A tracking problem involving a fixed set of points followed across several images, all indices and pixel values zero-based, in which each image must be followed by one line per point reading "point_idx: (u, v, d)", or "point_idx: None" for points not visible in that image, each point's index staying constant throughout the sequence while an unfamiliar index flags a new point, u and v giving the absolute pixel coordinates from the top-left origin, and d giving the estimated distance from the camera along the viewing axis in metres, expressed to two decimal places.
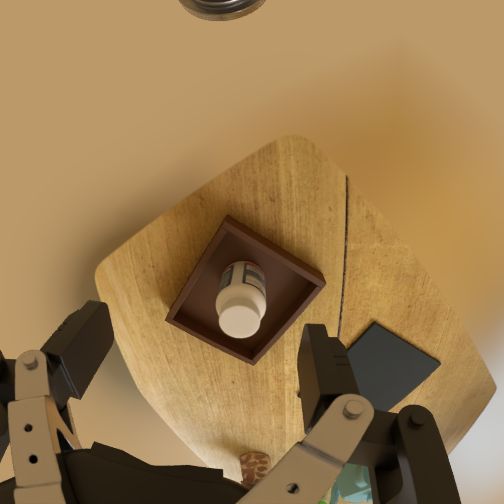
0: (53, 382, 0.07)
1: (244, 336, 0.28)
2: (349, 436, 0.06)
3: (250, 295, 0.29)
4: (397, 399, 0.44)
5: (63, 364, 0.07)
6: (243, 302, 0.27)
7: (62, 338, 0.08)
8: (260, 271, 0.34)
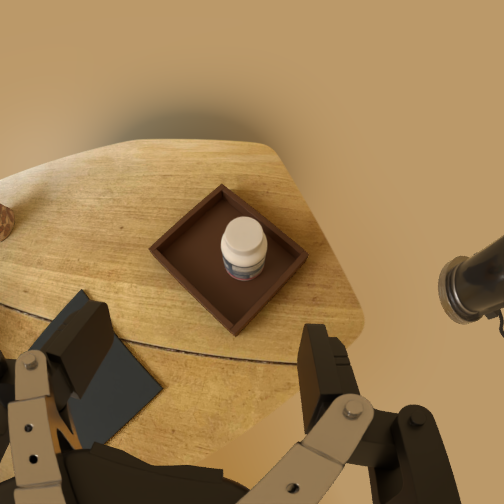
0: (53, 382, 0.07)
1: (226, 234, 0.30)
2: (349, 436, 0.06)
3: (258, 252, 0.32)
4: None
5: (63, 364, 0.07)
6: (262, 241, 0.30)
7: (62, 338, 0.08)
8: (254, 276, 0.36)
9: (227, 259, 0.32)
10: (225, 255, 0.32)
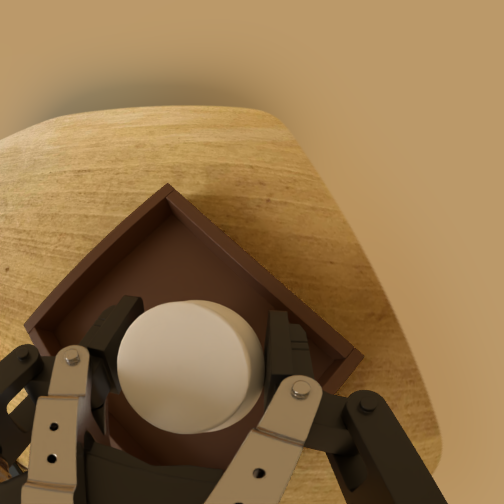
0: (96, 377, 0.07)
1: (121, 368, 0.07)
2: (292, 414, 0.06)
3: None
4: None
5: (105, 358, 0.08)
6: None
7: (103, 333, 0.09)
8: None
9: None
10: None
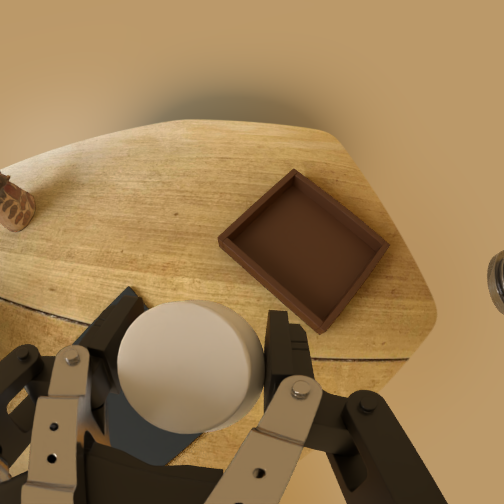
0: (96, 377, 0.07)
1: (121, 367, 0.07)
2: (292, 414, 0.06)
3: None
4: None
5: (105, 358, 0.08)
6: None
7: (103, 333, 0.09)
8: None
9: None
10: None
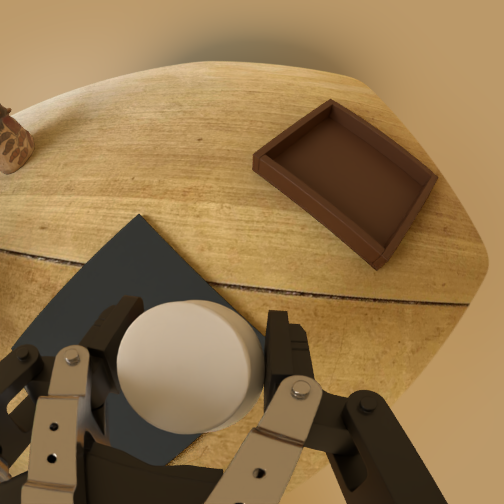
0: (96, 377, 0.07)
1: (120, 367, 0.07)
2: (292, 414, 0.06)
3: None
4: None
5: (105, 358, 0.08)
6: (246, 394, 0.08)
7: (103, 332, 0.09)
8: None
9: None
10: None
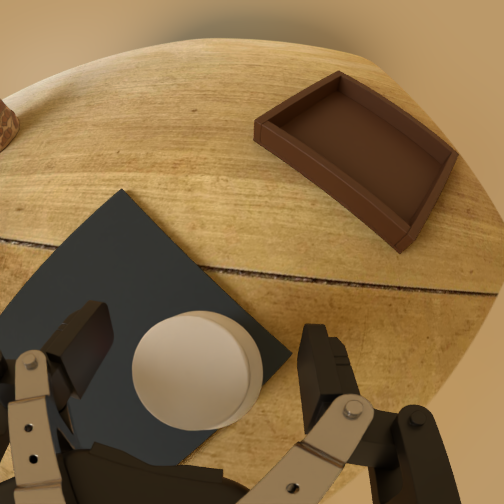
0: (53, 382, 0.07)
1: (135, 373, 0.08)
2: (349, 436, 0.06)
3: None
4: None
5: (63, 364, 0.07)
6: None
7: (62, 338, 0.08)
8: None
9: None
10: None
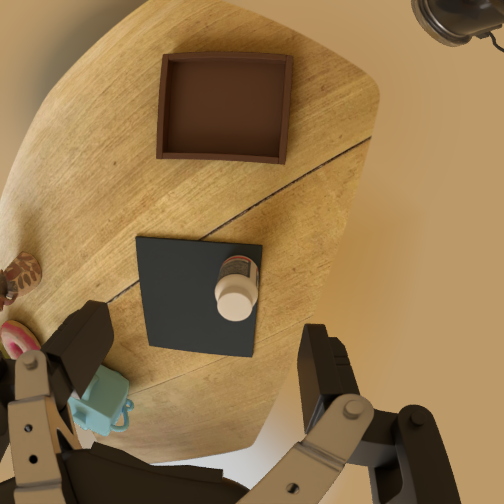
0: (53, 382, 0.07)
1: (223, 316, 0.33)
2: (349, 436, 0.06)
3: (252, 297, 0.34)
4: (189, 346, 0.46)
5: (63, 364, 0.07)
6: (251, 300, 0.33)
7: (62, 338, 0.08)
8: None
9: None
10: None
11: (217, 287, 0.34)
